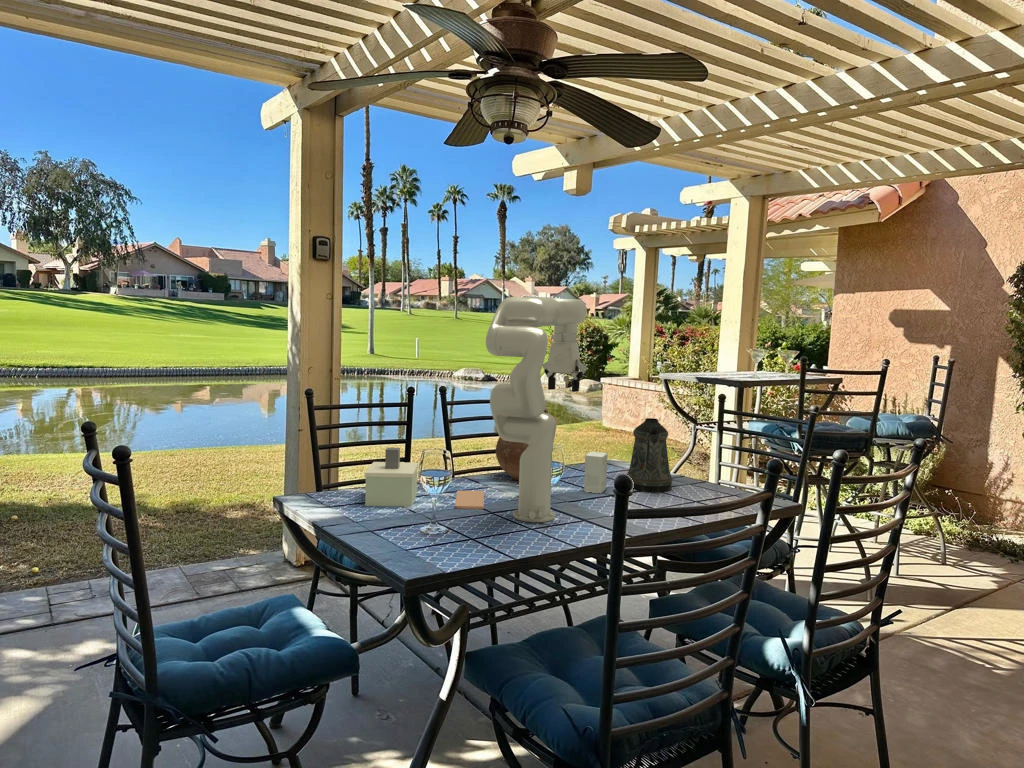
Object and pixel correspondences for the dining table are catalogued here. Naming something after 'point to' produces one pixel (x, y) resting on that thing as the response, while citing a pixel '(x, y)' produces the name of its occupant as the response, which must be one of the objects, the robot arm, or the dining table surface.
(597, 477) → the small box
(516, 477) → the jug
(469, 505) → the tile
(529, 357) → the robot arm
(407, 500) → the storage tub
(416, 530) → the dining table surface
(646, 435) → the beer stein
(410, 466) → the lid
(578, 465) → the dining table surface
